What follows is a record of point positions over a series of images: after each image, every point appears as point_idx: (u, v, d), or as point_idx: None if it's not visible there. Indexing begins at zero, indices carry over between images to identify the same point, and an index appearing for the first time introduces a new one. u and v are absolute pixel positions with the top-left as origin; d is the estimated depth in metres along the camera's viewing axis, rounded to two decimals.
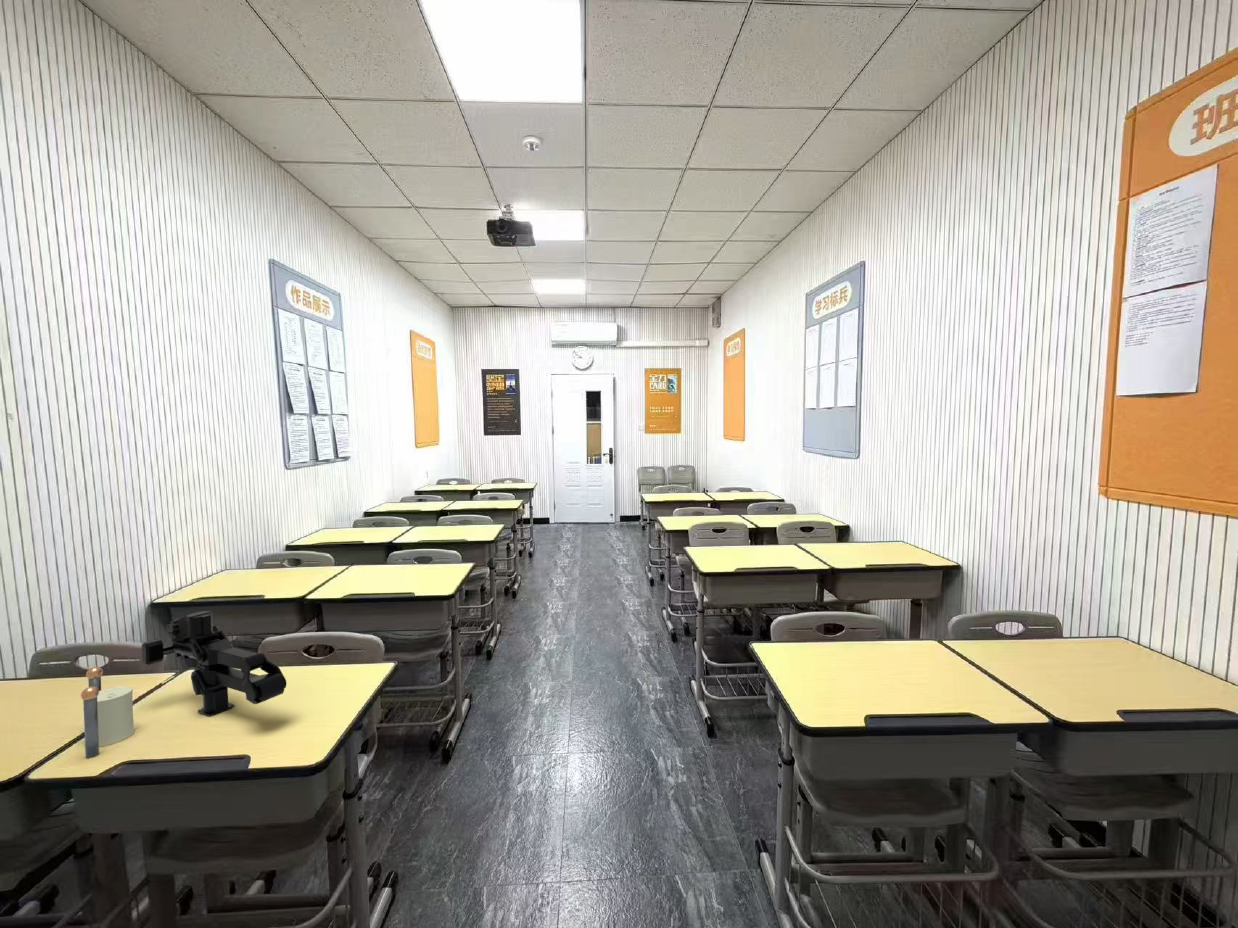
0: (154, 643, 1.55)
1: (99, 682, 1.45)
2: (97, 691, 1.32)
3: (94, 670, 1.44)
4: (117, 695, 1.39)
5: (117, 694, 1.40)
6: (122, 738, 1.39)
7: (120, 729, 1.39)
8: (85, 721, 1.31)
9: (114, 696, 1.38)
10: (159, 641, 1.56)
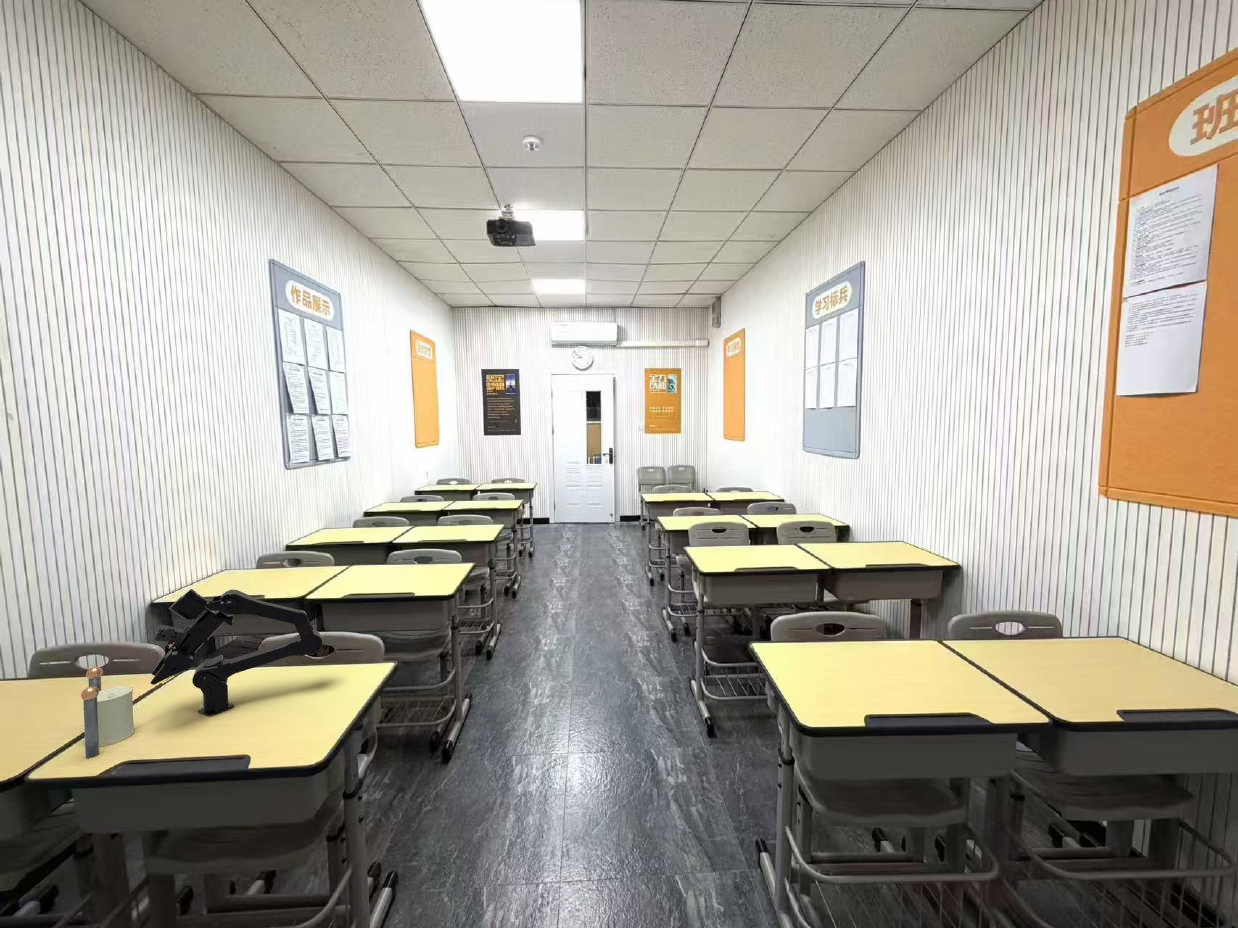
0: (174, 650, 1.43)
1: (99, 682, 1.45)
2: (97, 691, 1.32)
3: (94, 670, 1.44)
4: (117, 695, 1.39)
5: (117, 694, 1.40)
6: (122, 738, 1.39)
7: (120, 729, 1.39)
8: (85, 721, 1.31)
9: (114, 696, 1.38)
10: (173, 649, 1.44)
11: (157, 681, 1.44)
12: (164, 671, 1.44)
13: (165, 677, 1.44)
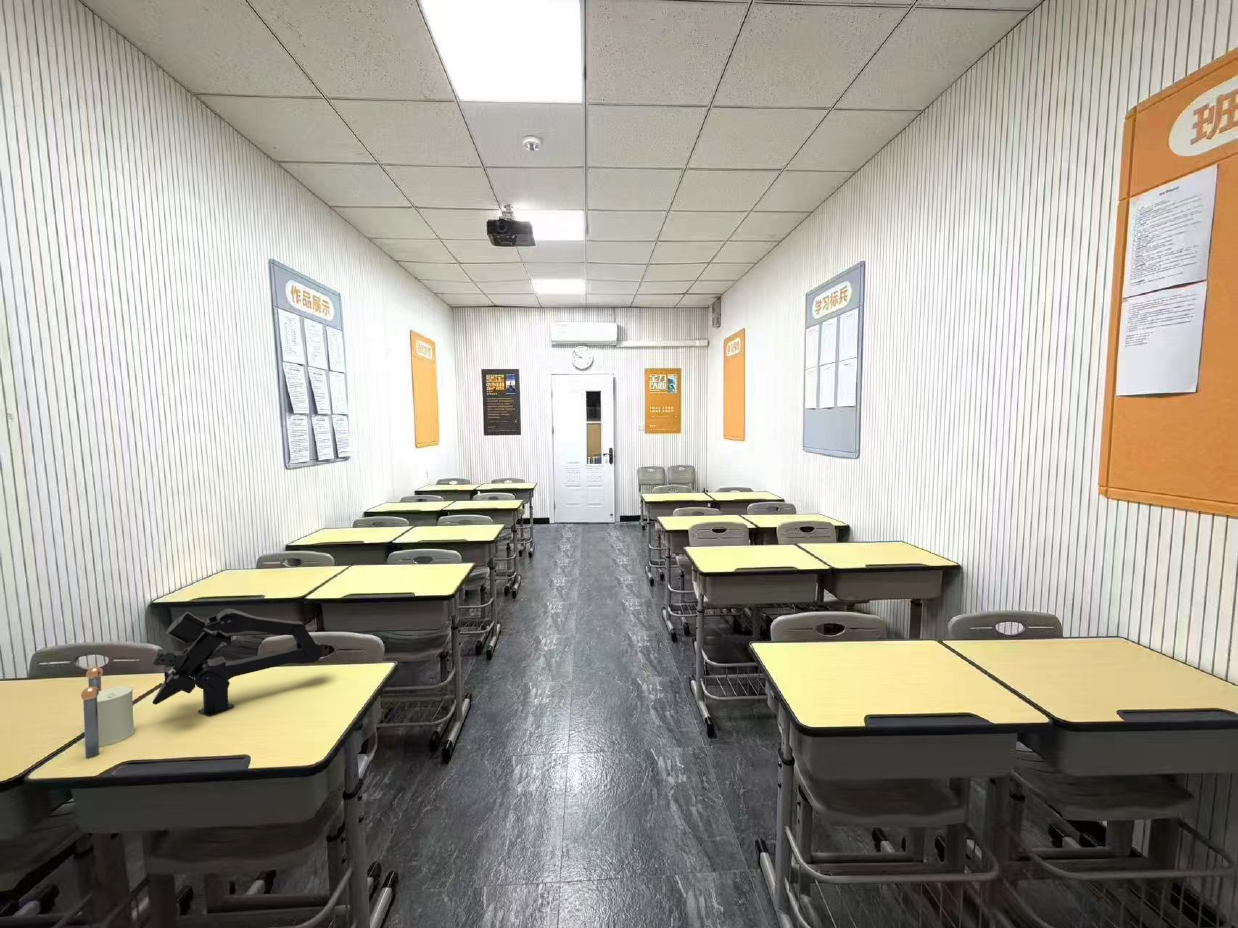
0: (175, 674, 1.43)
1: (99, 682, 1.45)
2: (97, 691, 1.32)
3: (94, 670, 1.44)
4: (117, 695, 1.39)
5: (117, 694, 1.40)
6: (122, 738, 1.39)
7: (120, 729, 1.39)
8: (85, 721, 1.31)
9: (114, 696, 1.38)
10: (174, 673, 1.44)
11: (159, 701, 1.46)
12: (165, 690, 1.47)
13: (167, 696, 1.47)
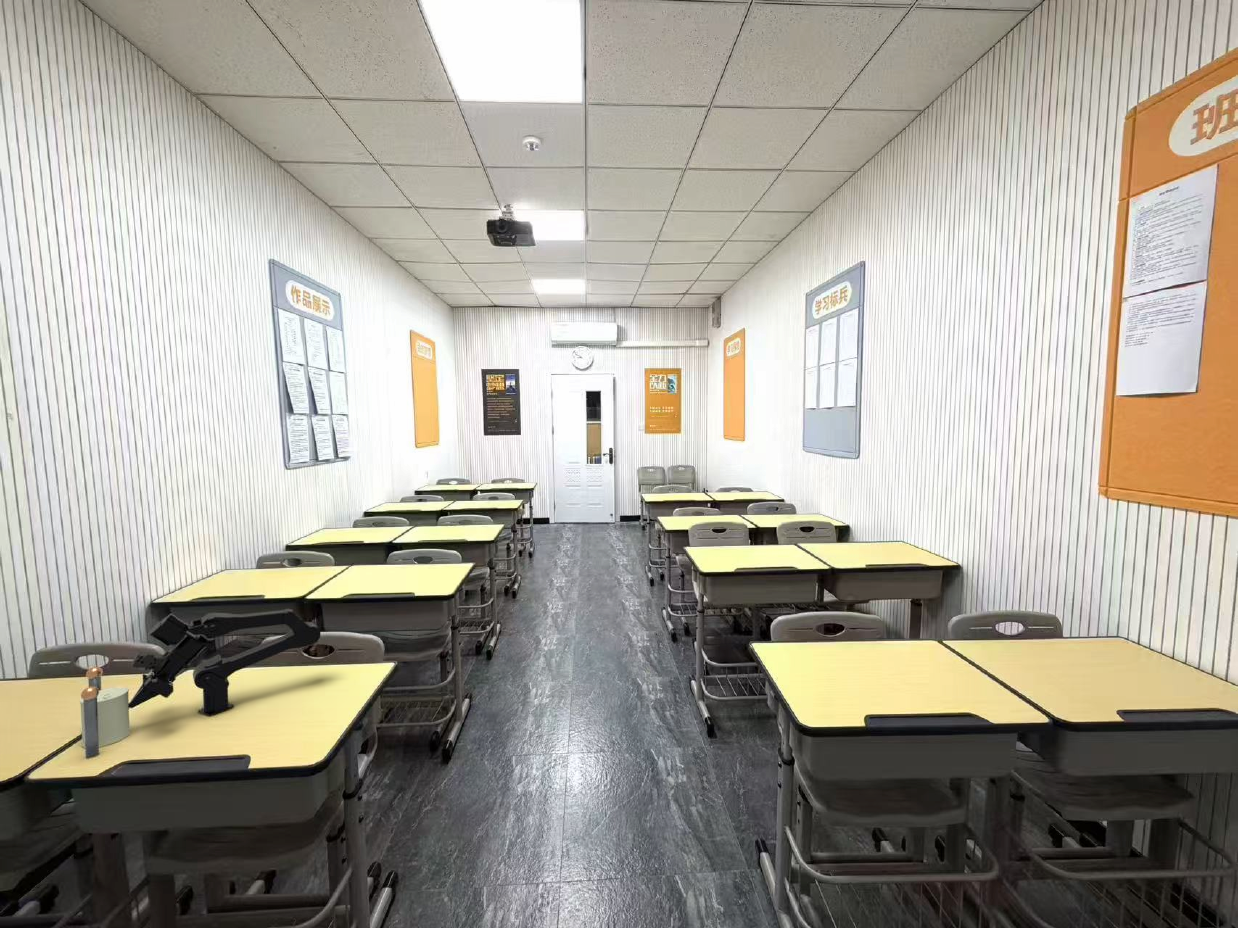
0: (154, 677, 1.40)
1: (99, 682, 1.45)
2: (97, 691, 1.32)
3: (94, 670, 1.44)
4: (112, 696, 1.39)
5: (112, 695, 1.39)
6: (117, 739, 1.38)
7: (115, 730, 1.38)
8: (85, 721, 1.31)
9: (109, 697, 1.38)
10: (152, 676, 1.41)
11: (135, 704, 1.43)
12: (142, 694, 1.43)
13: (143, 700, 1.44)
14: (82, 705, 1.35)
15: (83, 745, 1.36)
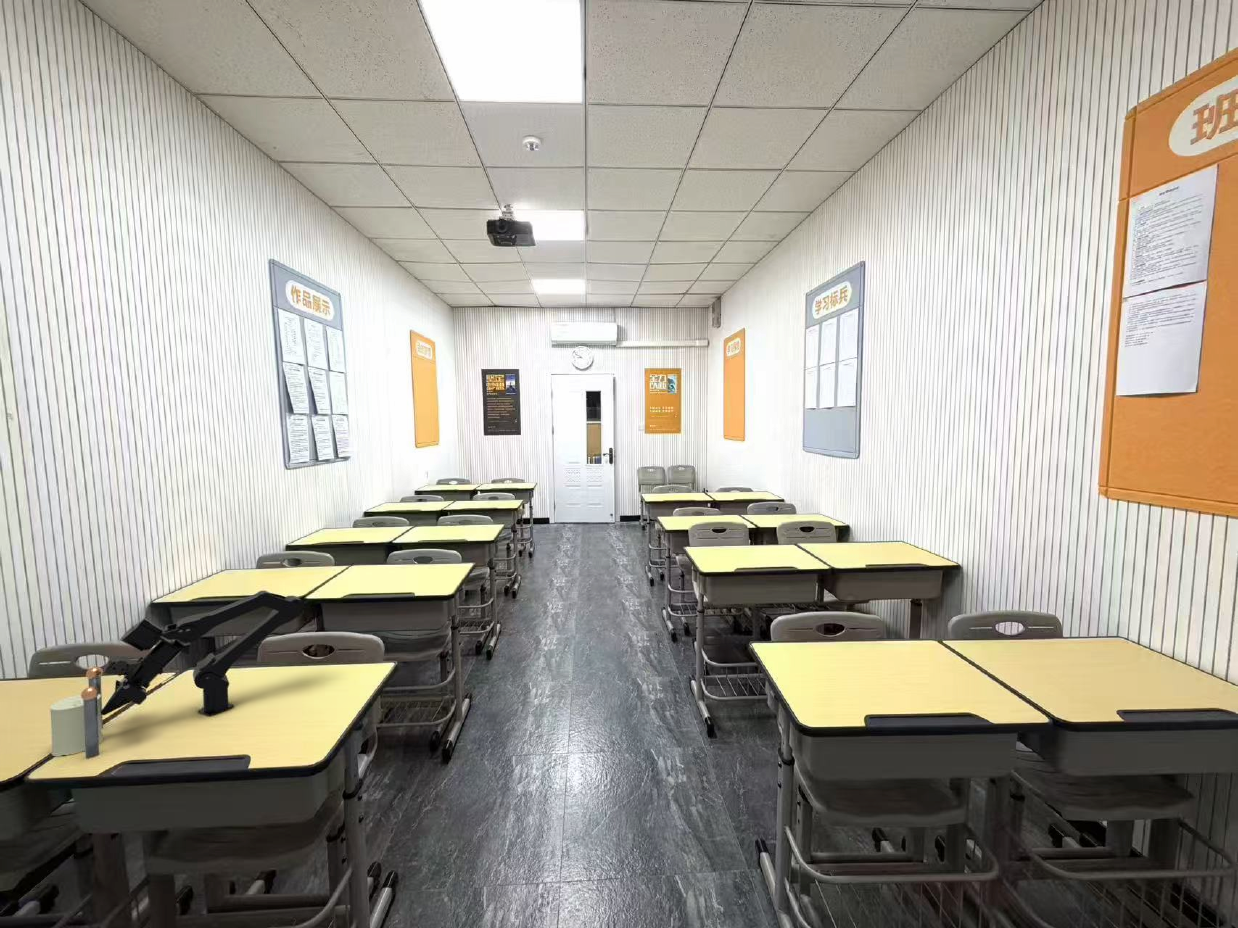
0: (126, 683, 1.37)
1: (99, 682, 1.45)
2: (97, 691, 1.32)
3: (94, 670, 1.44)
4: None
5: None
6: None
7: None
8: (85, 721, 1.31)
9: (79, 704, 1.34)
10: (125, 682, 1.38)
11: (108, 711, 1.39)
12: (115, 700, 1.40)
13: (116, 707, 1.40)
14: (51, 712, 1.32)
15: (52, 753, 1.32)
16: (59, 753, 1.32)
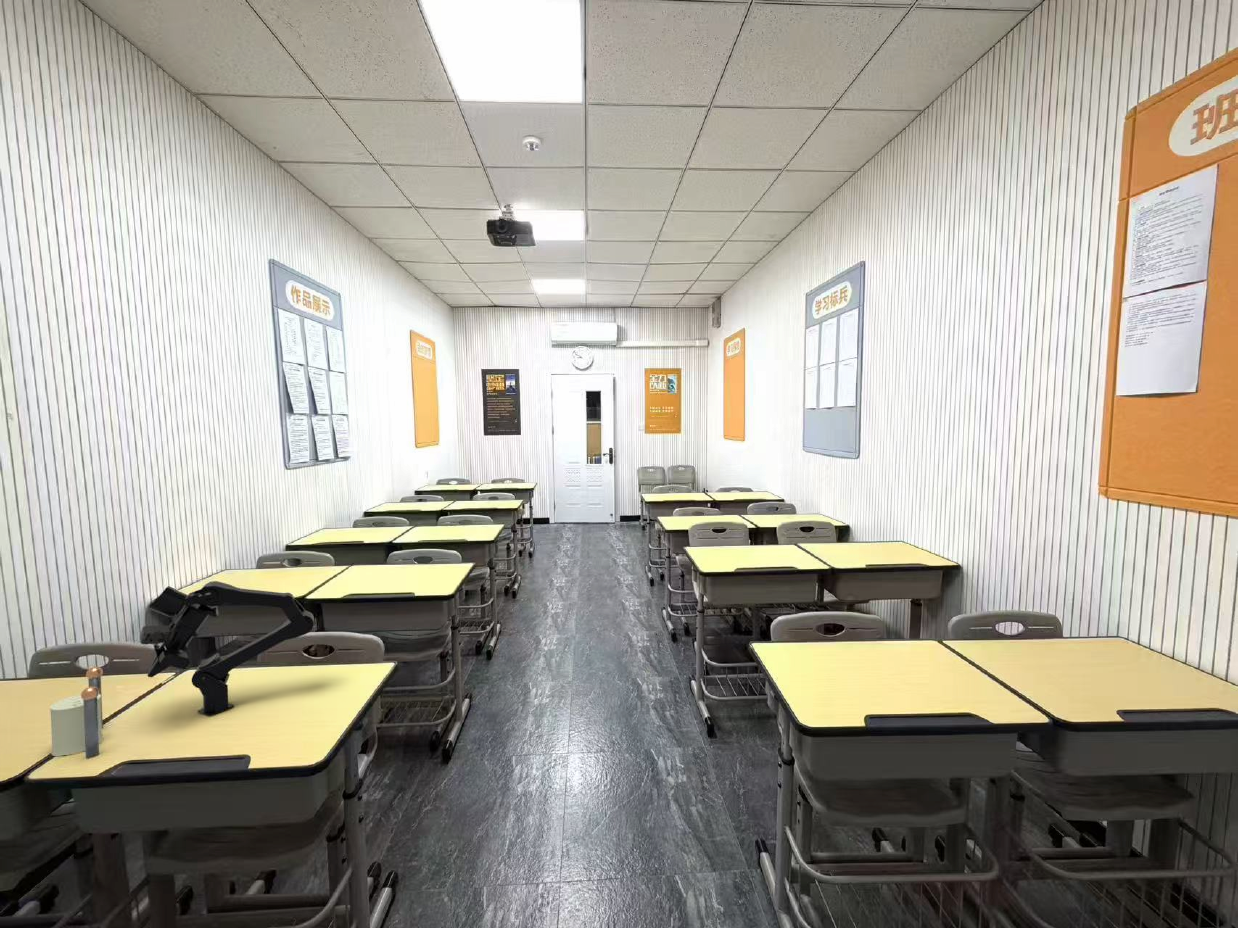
0: (167, 652, 1.43)
1: (99, 682, 1.45)
2: (97, 691, 1.32)
3: (94, 670, 1.44)
4: None
5: None
6: None
7: None
8: (85, 721, 1.31)
9: (79, 704, 1.34)
10: (165, 651, 1.44)
11: (154, 674, 1.48)
12: (159, 664, 1.48)
13: (161, 669, 1.48)
14: (51, 712, 1.32)
15: (52, 753, 1.32)
16: (59, 753, 1.32)
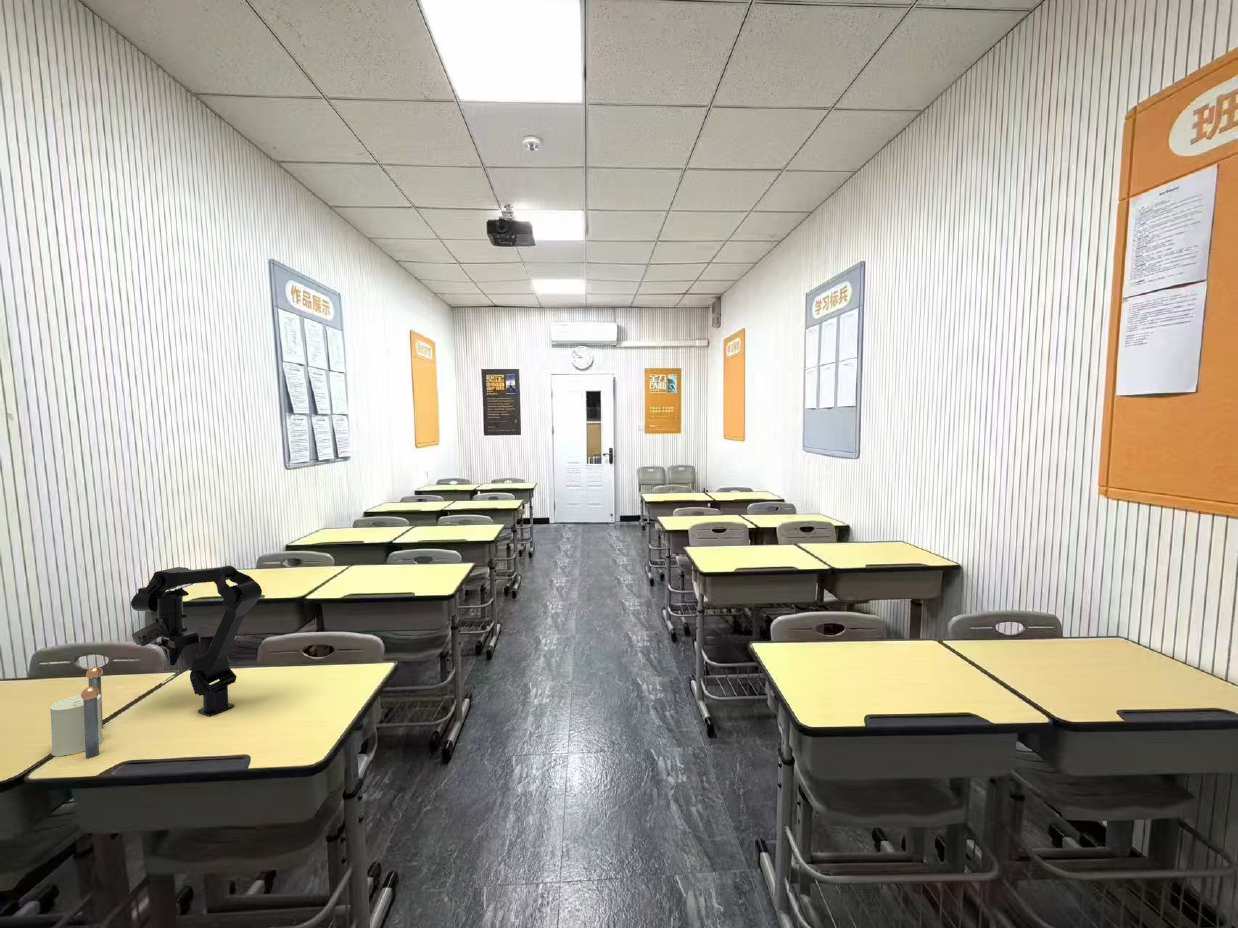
0: (173, 638, 1.52)
1: (99, 682, 1.45)
2: (97, 691, 1.32)
3: (94, 670, 1.44)
4: None
5: None
6: None
7: None
8: (85, 721, 1.31)
9: (79, 704, 1.34)
10: (170, 639, 1.52)
11: (175, 661, 1.57)
12: (173, 652, 1.56)
13: (178, 654, 1.58)
14: (51, 712, 1.32)
15: (52, 753, 1.32)
16: (59, 753, 1.32)
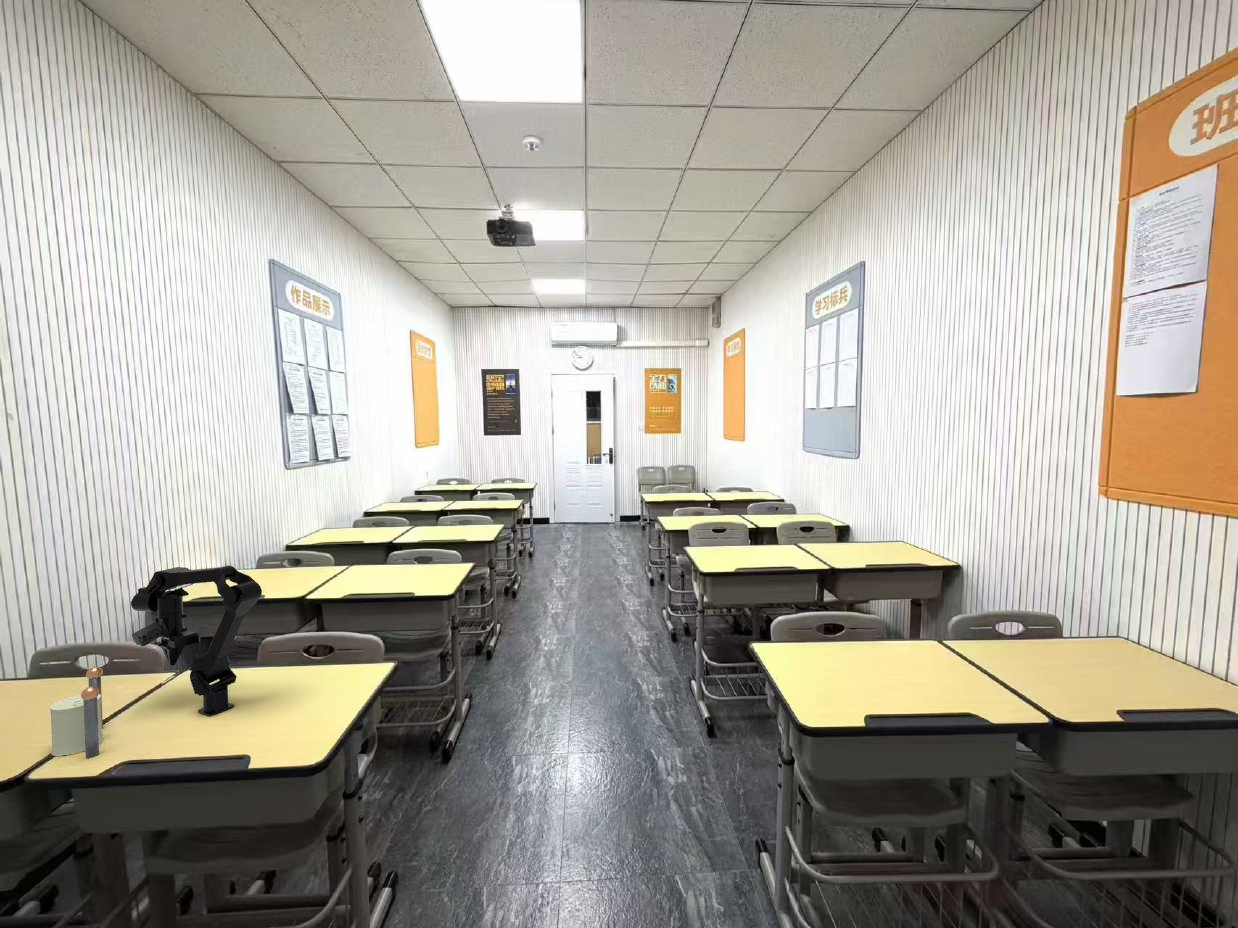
0: (173, 638, 1.52)
1: (99, 682, 1.45)
2: (97, 691, 1.32)
3: (94, 670, 1.44)
4: None
5: None
6: None
7: None
8: (85, 721, 1.31)
9: (79, 704, 1.34)
10: (170, 639, 1.52)
11: (175, 661, 1.57)
12: (173, 652, 1.56)
13: (178, 654, 1.58)
14: (51, 712, 1.32)
15: (52, 753, 1.32)
16: (59, 753, 1.32)
